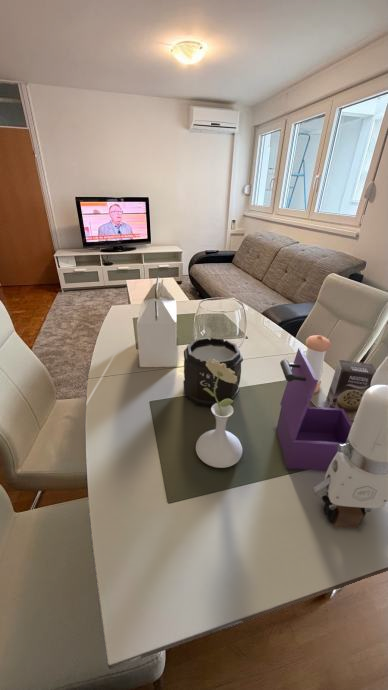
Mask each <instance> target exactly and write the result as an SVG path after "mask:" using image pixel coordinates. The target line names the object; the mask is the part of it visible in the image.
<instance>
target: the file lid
mask: <svg viewBox="0 0 388 690" xmlns="http://www.w3.org/2000/svg"><path fill="white" fill-rule="evenodd" d="M305 355H306V353H305V352H304V350H303V349H302V348H301V347H299V348H297V351H296V355H295V357H294V360H293V362H289V360H287V359H282V360H281V361H280V363H279V364H280V367H281V370H282V374H283V376H284V379H285V381H286V385H285V387H284V391H283V394H282V398H281V399H280V400H281V401H280V403H279V404H280V406H281V407H282V410H283V414H284V417H285V420H286V424H287V427H288V430H289V434H290V437H291V440H292V441H295V439H296V437H297V434H298V432H299V429H300V426H301V424H302V421H303V419H304V416H305V413H306V411H307V408H308V407H310V406H309V405H310V404H311V400H312V398H313V395H314V394H315V393H314V390H315V388H316V385H317V382H318V379H317V377H316V375H315V373H314V371H313V369H312V367H311V365H310V363H309V362H308V360H307V358H306V356H305ZM281 407H280V408H281Z"/></svg>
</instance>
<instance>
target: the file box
mask: <svg viewBox="0 0 388 690" xmlns="http://www.w3.org/2000/svg"><path fill="white" fill-rule="evenodd" d="M278 416H279V417H278V421H277V426H276V433H277V437H278V441H279V445H280V449H281V453H282V457H283V461H284V465H285V469H287V470H289V469H290V470H304V471H306V470H307V471H318V472H319V471H321V472H327V470H328V468H329V465H330V464H331V462H332V460H333V458H334V457H335V455H336V454H337V452H338V445H342V444H344V443H345V442H346V439H347V438H348V435H349V433H350V430H351V427H352V424H353V422H351V421H352V420H350V419H349V418H348V416H347V414H346V412H345V411H344V409H341V408H326V407H324V406H321V407H320V406H308V408H307V411H306V413H305V416H304V419H303V421H302V424H301V426H300V429H299V432H298V434H297V437H296V439H295V441H292V440H291V437H290V434H289V430H288V427H287V424H286V420H285V417H284V414H283V410H282V407H280V411H279V415H278Z"/></svg>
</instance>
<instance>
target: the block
mask: <svg viewBox="0 0 388 690" xmlns="http://www.w3.org/2000/svg"><path fill="white" fill-rule="evenodd" d="M337 510H338V513H337V515H336V517H335V520H334V522H333V523H332V524H333V526H334V527H338V528H339V527H340V528H351V529H352V528H354V529H358V528H359V526H360V525H361V524H360V522H361V520H362V518H363V516H364V515H363V513H362V511H361V508H360V507H348V506H339V505H338V507H337ZM364 517H365V516H364ZM363 519H364V518H363ZM362 521H363V520H362ZM361 523H362V522H361ZM359 524H360V525H359Z"/></svg>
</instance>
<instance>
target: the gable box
mask: <svg viewBox="0 0 388 690" xmlns="http://www.w3.org/2000/svg"><path fill="white" fill-rule="evenodd" d="M177 322H178V321H177V300H176V299H175V298H174V297H173V296H172V294H171V292H170V291H169V290H168V289H167V287H166V286H165V285H164V279H163V278H162V279H161V282H160V277H159V276H157V277H156V281H155V283H154V284H153V285H152V286H151V287H150V289H149V291H148V292H147V294H146V296H145V297H144V298H143V300H142V301H141V305H140V309H139V313H138V317H137V320H136V334H137V348H138V359H139V360H138V361H139V368H161V367H162V368H169V367H170V368H171V367H172V368H173V367H177V366H178V345H177V344H178V342H177V341H178V340H177V338H178V337H177V335H178V334H177V333H178V332H177V331H178V330H177V327H178V325H177Z"/></svg>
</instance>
